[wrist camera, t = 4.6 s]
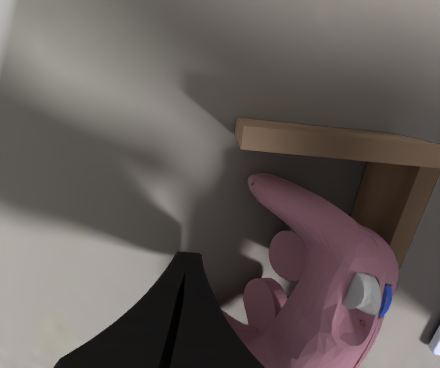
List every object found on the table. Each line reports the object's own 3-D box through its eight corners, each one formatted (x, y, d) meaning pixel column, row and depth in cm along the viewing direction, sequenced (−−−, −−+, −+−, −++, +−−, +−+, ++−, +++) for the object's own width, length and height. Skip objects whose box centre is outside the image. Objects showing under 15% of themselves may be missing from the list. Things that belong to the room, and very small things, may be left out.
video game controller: (236, 304, 17) (309, 433, 11) (174, 312, 14) (230, 482, 9) (309, 176, 14) (456, 269, 8) (247, 158, 11) (400, 274, 6)
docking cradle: (393, 133, 12) (450, 146, 9) (319, 354, 17) (340, 408, 14) (236, 117, 11) (243, 125, 8) (209, 348, 16) (207, 403, 13)
